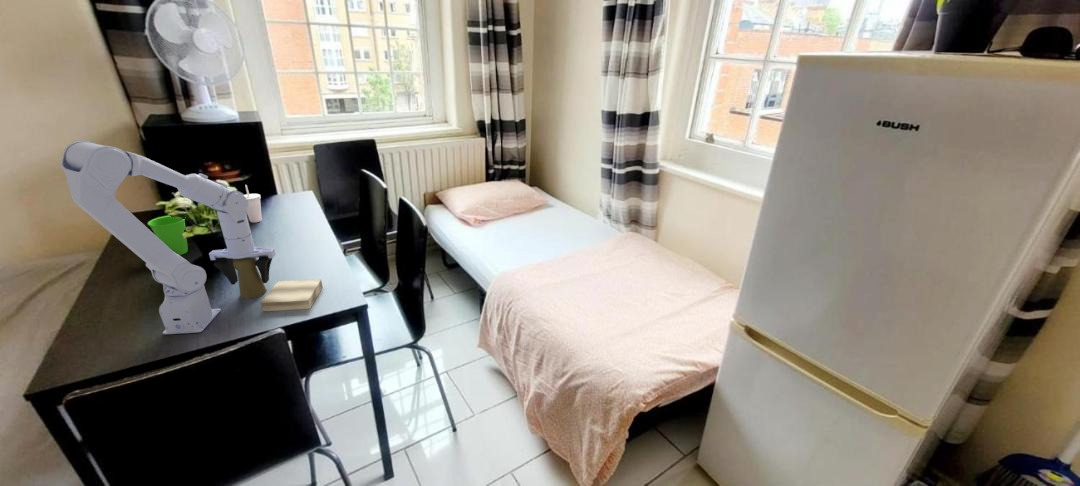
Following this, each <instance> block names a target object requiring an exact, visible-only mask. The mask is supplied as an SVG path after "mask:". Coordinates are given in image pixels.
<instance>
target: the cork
mask: <svg viewBox="0 0 1080 486" xmlns="http://www.w3.org/2000/svg"><path fill="white" fill-rule="evenodd" d="M257 260H258V259H257V258H249V257H247V258H240V259H234V260H233V266H234V268H235V271H236V270H237V278H238V287H239V297H240V298H241V299H243V300H244V299H245V300H253V299H257V298H259V297H262V296H263V295H265V294H266V293H267V288H266V286H265V283H263V282H262V278H261V274H260V271H259V269H258V267H257V266H256V264H255V262H256V261H257Z"/></svg>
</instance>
